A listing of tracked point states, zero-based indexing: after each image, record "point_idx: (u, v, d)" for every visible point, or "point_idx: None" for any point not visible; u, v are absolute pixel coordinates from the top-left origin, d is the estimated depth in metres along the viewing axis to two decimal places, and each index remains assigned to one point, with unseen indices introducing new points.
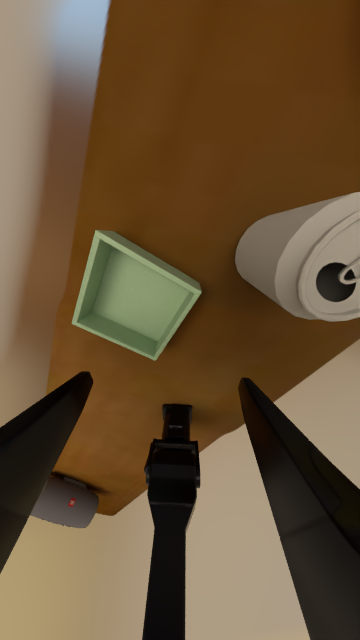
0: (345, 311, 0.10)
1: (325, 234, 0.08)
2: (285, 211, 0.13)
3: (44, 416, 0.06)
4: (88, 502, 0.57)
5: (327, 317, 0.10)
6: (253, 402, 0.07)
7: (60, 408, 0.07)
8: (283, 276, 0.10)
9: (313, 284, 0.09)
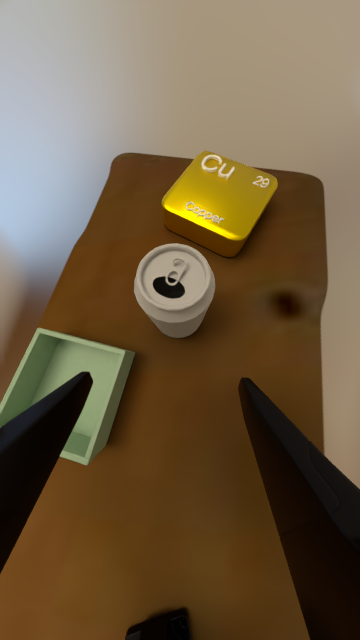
0: None
1: (140, 266, 0.13)
2: (162, 283, 0.21)
3: (44, 416, 0.06)
4: None
5: (175, 307, 0.12)
6: (253, 402, 0.07)
7: (60, 408, 0.07)
8: (138, 296, 0.13)
9: (154, 291, 0.13)
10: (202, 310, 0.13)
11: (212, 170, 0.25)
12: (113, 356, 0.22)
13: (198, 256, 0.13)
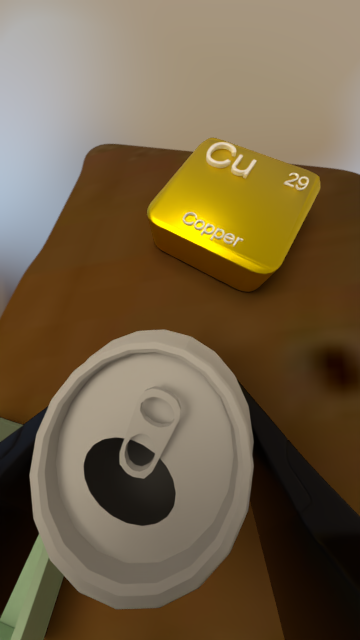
0: (192, 541, 0.04)
1: (52, 408, 0.05)
2: None
3: None
4: None
5: (140, 598, 0.03)
6: None
7: None
8: None
9: (87, 496, 0.04)
10: None
11: (222, 164, 0.17)
12: None
13: (213, 384, 0.05)
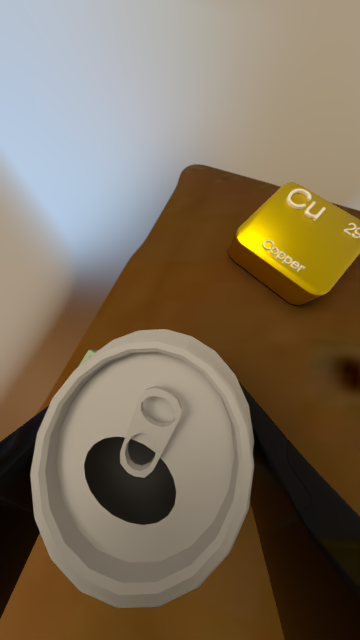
0: (193, 541, 0.04)
1: (53, 407, 0.05)
2: None
3: None
4: None
5: (141, 597, 0.03)
6: None
7: None
8: None
9: (88, 495, 0.04)
10: None
11: (299, 207, 0.23)
12: None
13: (214, 383, 0.05)
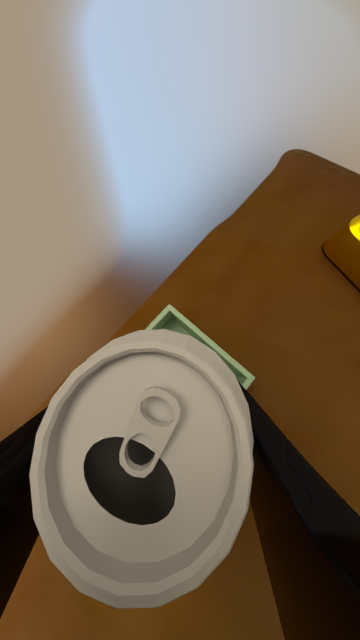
0: (192, 541, 0.04)
1: (52, 407, 0.05)
2: None
3: None
4: None
5: (140, 598, 0.03)
6: None
7: None
8: None
9: (87, 495, 0.04)
10: None
11: None
12: None
13: (213, 383, 0.05)
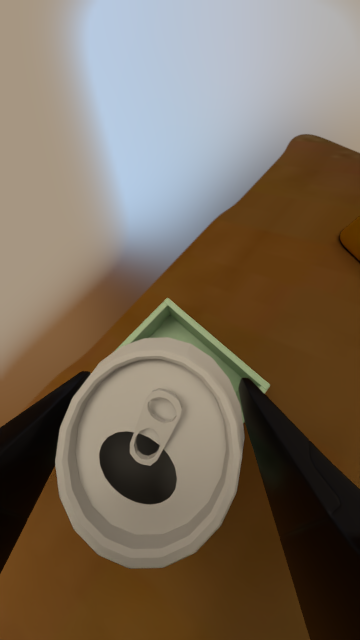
0: (190, 518, 0.05)
1: (72, 406, 0.06)
2: None
3: (44, 416, 0.06)
4: None
5: (148, 560, 0.04)
6: (253, 402, 0.07)
7: (60, 408, 0.07)
8: None
9: (103, 480, 0.05)
10: None
11: None
12: (224, 371, 0.17)
13: (209, 387, 0.05)
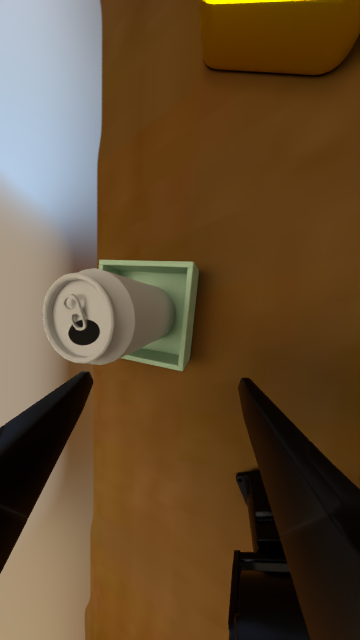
0: None
1: (47, 330, 0.11)
2: None
3: (44, 416, 0.06)
4: None
5: (97, 352, 0.10)
6: (253, 402, 0.07)
7: (60, 408, 0.07)
8: None
9: (76, 345, 0.11)
10: (132, 328, 0.11)
11: None
12: (176, 279, 0.20)
13: (81, 279, 0.10)
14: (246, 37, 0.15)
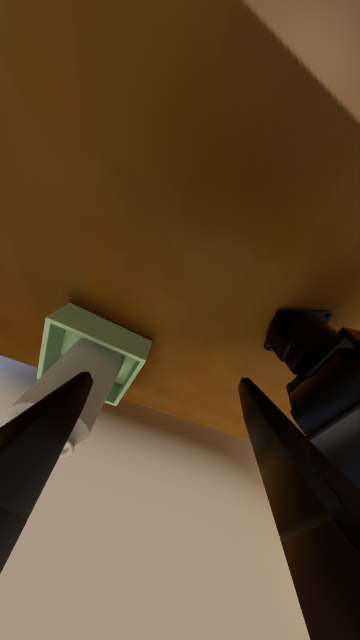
0: None
1: None
2: None
3: (44, 416, 0.06)
4: None
5: None
6: (253, 402, 0.07)
7: (60, 408, 0.07)
8: (77, 443, 0.16)
9: None
10: None
11: None
12: None
13: None
14: None
